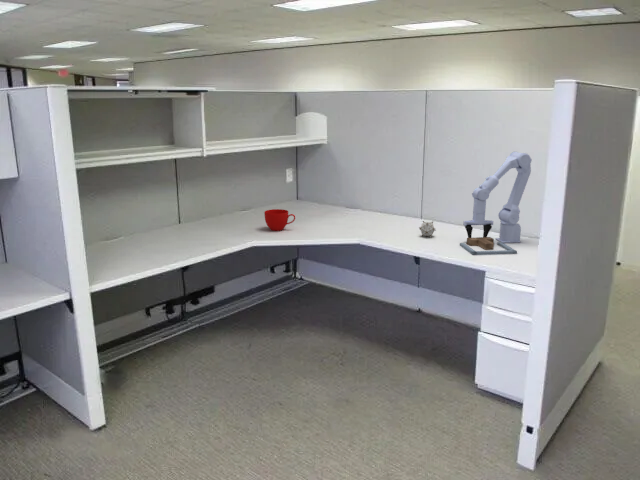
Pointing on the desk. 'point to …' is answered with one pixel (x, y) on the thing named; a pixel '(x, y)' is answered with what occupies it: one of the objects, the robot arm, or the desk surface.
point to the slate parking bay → (507, 251)
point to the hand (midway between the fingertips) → (477, 239)
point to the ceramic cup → (277, 219)
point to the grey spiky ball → (427, 229)
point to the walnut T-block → (481, 242)
